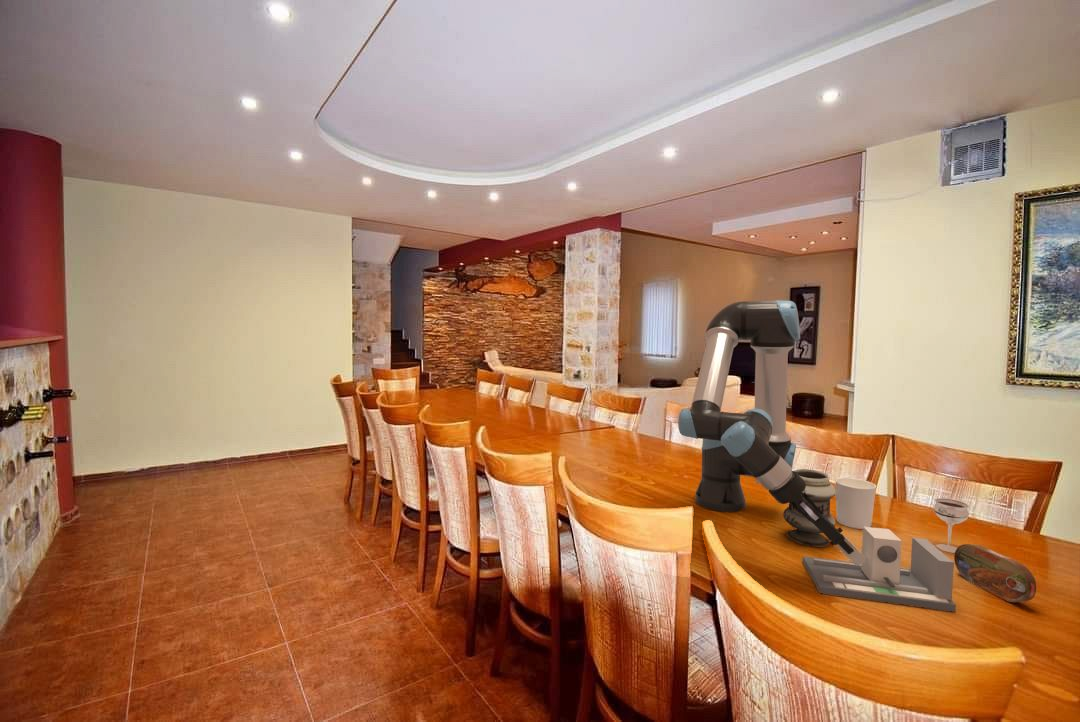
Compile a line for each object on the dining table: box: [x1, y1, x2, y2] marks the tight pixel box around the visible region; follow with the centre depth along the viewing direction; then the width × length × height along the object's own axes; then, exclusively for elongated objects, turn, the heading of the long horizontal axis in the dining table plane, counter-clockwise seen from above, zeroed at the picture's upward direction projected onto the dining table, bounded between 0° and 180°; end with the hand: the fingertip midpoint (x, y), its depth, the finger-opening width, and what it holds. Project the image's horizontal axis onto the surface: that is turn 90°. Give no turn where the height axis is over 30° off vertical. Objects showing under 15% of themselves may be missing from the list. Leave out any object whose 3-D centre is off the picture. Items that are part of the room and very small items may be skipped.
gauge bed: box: [801, 537, 957, 613], centre depth 103 cm, size 24×14×10 cm, turn 74°
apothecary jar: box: [782, 468, 836, 548], centre depth 125 cm, size 12×12×18 cm
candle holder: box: [835, 477, 877, 530], centre depth 135 cm, size 10×10×12 cm
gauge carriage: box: [861, 526, 903, 587], centre depth 100 cm, size 5×9×10 cm, turn 164°
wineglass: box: [933, 497, 970, 554], centre depth 120 cm, size 7×7×12 cm
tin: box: [953, 543, 1037, 603], centre depth 101 cm, size 15×3×8 cm, turn 5°
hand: (860, 561), depth 103 cm, fingers closed
